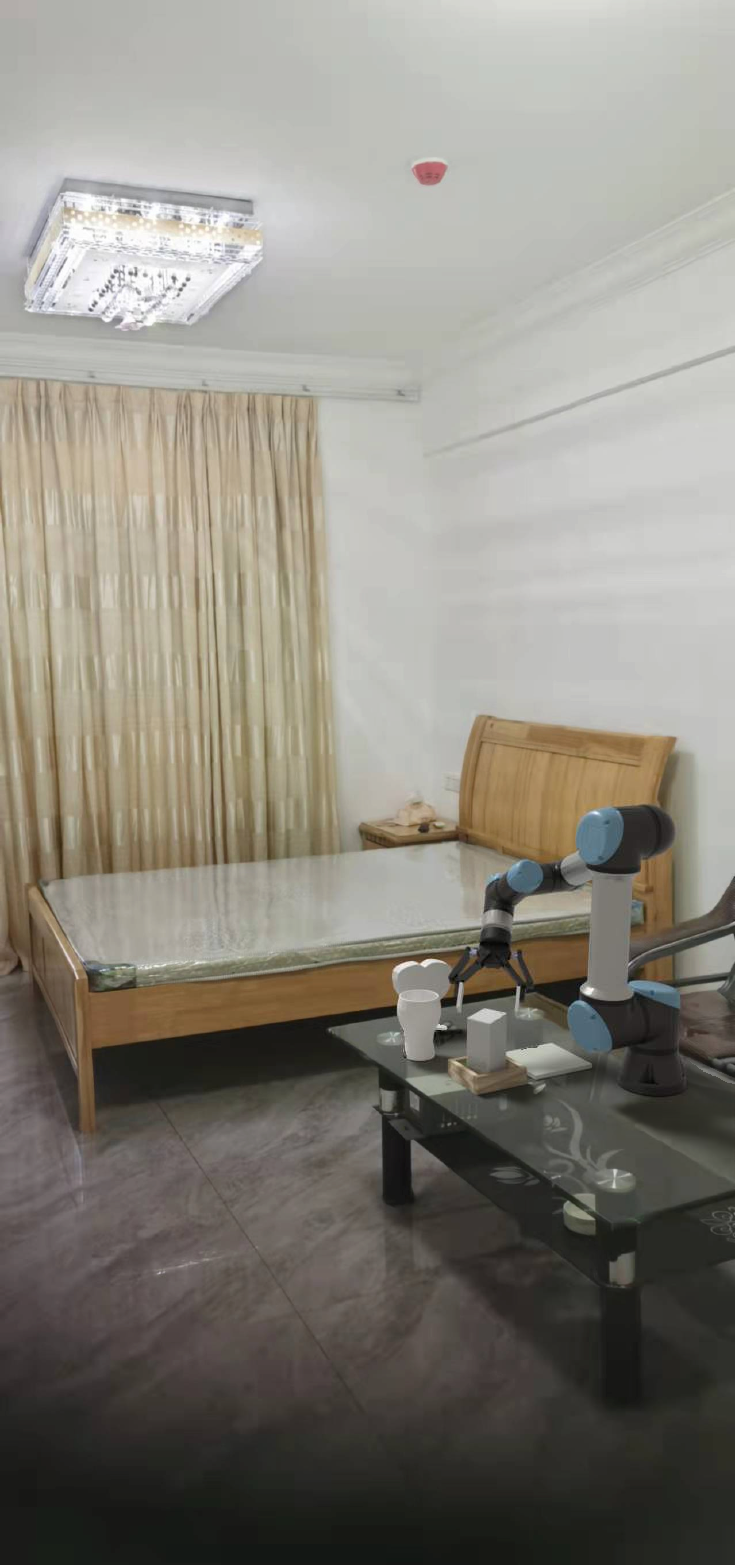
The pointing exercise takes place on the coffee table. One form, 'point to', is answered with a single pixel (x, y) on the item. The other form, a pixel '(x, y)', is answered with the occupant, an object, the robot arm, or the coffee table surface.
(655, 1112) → the coffee table surface
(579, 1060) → the board
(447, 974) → the heart sculpture
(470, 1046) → the skincare box
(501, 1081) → the caddy
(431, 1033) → the cup
